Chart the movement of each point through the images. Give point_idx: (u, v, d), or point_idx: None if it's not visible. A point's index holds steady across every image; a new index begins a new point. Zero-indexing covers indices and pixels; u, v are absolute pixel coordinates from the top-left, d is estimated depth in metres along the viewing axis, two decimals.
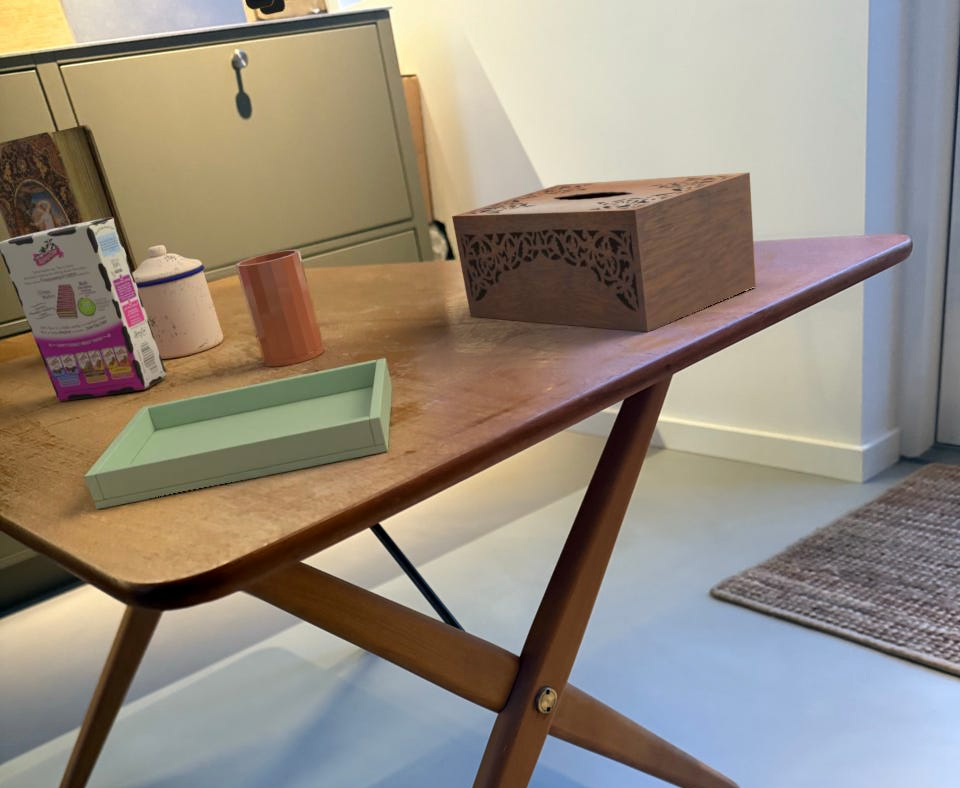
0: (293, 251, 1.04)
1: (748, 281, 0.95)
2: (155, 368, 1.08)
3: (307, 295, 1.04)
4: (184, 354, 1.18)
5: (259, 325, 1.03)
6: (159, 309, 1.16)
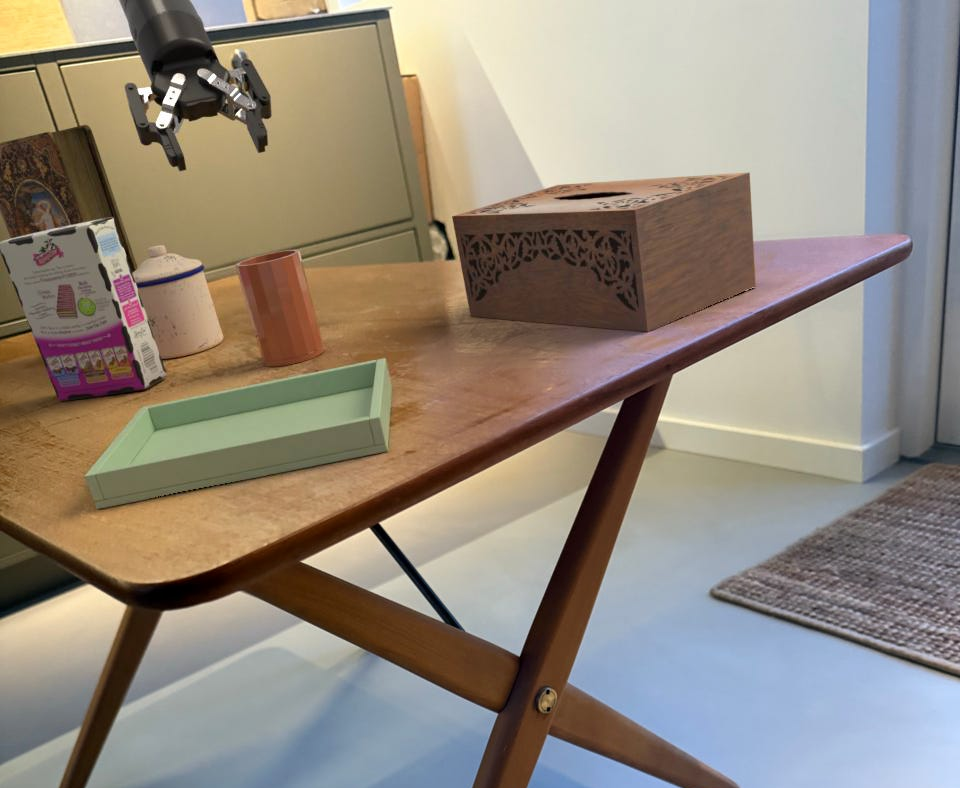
0: (293, 251, 1.04)
1: (748, 281, 0.95)
2: (155, 368, 1.08)
3: (307, 295, 1.04)
4: (184, 354, 1.18)
5: (259, 325, 1.03)
6: (159, 309, 1.16)
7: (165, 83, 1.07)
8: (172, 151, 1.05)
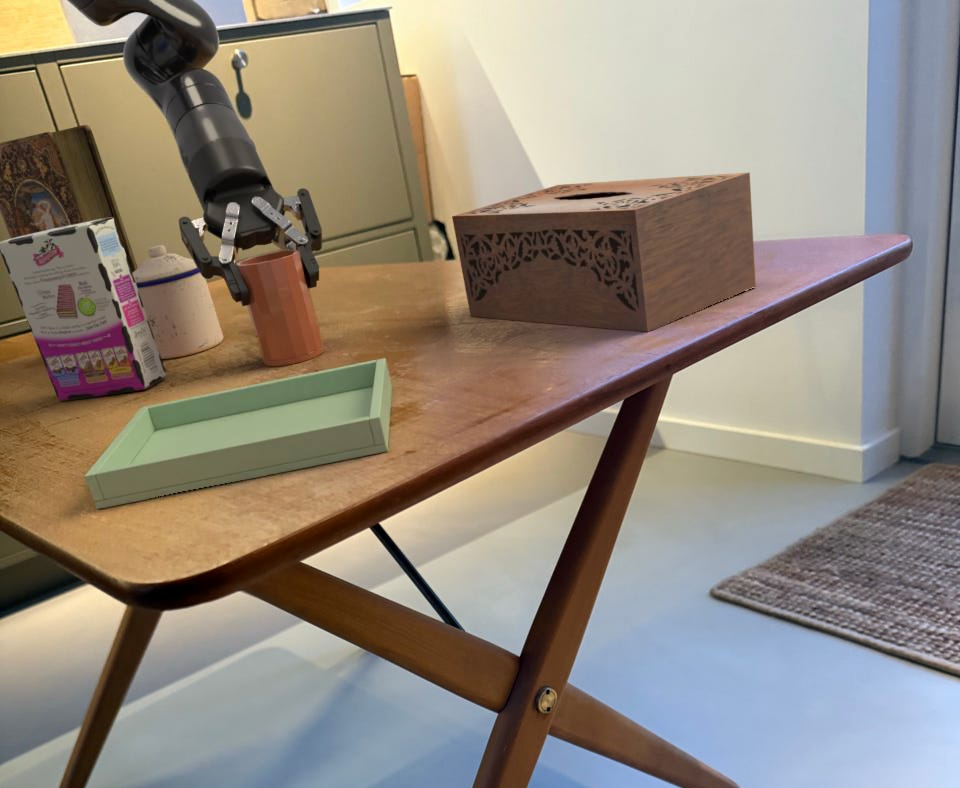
0: (293, 251, 1.04)
1: (748, 281, 0.95)
2: (155, 368, 1.08)
3: (307, 295, 1.04)
4: (184, 354, 1.18)
5: (259, 325, 1.03)
6: (159, 309, 1.16)
7: (218, 212, 1.03)
8: (236, 287, 1.01)
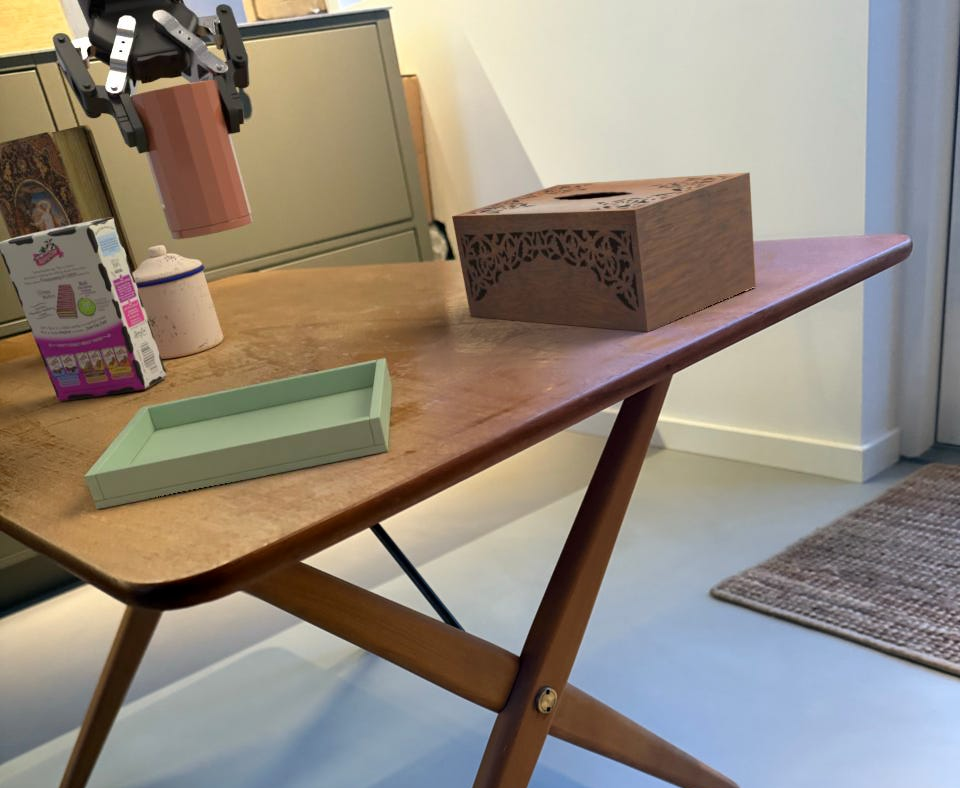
0: None
1: (748, 281, 0.95)
2: (155, 368, 1.08)
3: (227, 141, 0.77)
4: (184, 354, 1.18)
5: (162, 180, 0.77)
6: (159, 309, 1.16)
7: (108, 30, 0.77)
8: (128, 125, 0.75)
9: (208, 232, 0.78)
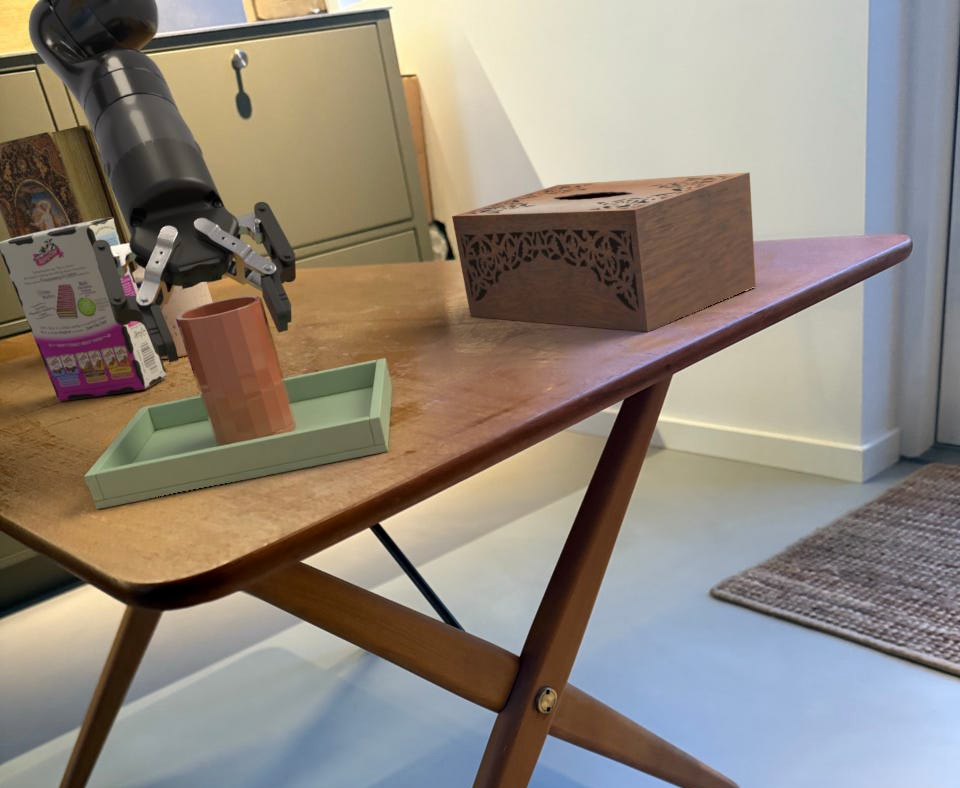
0: (253, 298, 0.78)
1: (748, 281, 0.95)
2: (155, 368, 1.08)
3: (272, 357, 0.78)
4: (184, 354, 1.18)
5: (208, 397, 0.78)
6: None
7: (150, 239, 0.77)
8: (159, 337, 0.75)
9: None
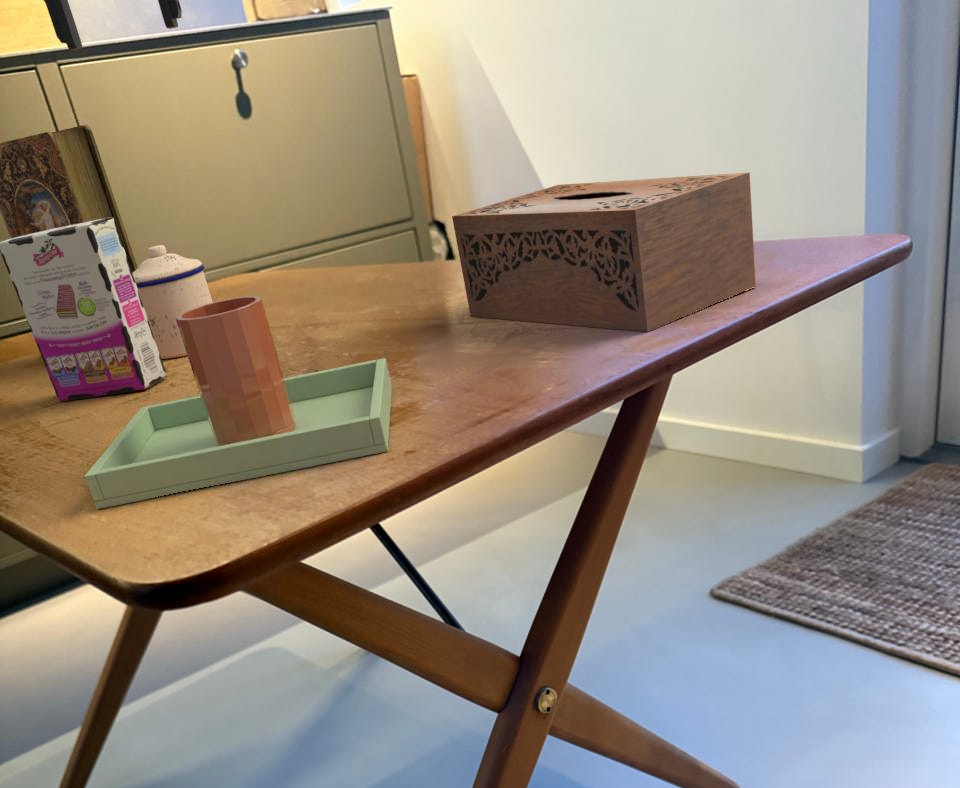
0: (253, 298, 0.78)
1: (748, 281, 0.95)
2: (155, 368, 1.08)
3: (272, 357, 0.78)
4: (184, 354, 1.18)
5: (208, 397, 0.78)
6: (159, 309, 1.16)
7: None
8: (62, 33, 0.87)
9: None
